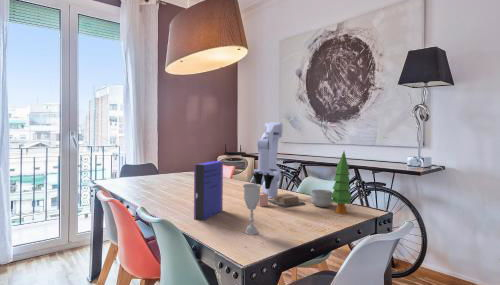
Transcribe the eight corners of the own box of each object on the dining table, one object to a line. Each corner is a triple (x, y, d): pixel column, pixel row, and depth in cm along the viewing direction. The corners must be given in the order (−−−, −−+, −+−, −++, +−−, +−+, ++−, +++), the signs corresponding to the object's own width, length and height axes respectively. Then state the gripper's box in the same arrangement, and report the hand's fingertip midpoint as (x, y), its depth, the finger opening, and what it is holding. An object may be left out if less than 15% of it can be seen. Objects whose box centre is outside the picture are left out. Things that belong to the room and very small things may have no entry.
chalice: (250, 227, 120) (251, 183, 119) (264, 231, 115) (265, 185, 115) (238, 232, 114) (238, 185, 113) (252, 236, 110) (253, 187, 109)
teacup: (308, 206, 155) (308, 191, 155) (313, 202, 165) (314, 187, 164) (335, 210, 148) (335, 194, 148) (339, 205, 158) (340, 190, 158)
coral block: (254, 204, 158) (254, 193, 158) (262, 203, 160) (262, 192, 160) (259, 206, 154) (259, 195, 153) (267, 205, 156) (268, 194, 156)
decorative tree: (353, 211, 146) (354, 150, 144) (348, 216, 138) (349, 151, 137) (333, 208, 151) (334, 149, 150) (327, 213, 143) (328, 150, 142)
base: (268, 201, 164) (268, 194, 164) (288, 199, 171) (288, 192, 171) (283, 207, 152) (283, 199, 152) (304, 204, 159) (305, 196, 159)
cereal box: (213, 209, 147) (214, 160, 146) (222, 210, 145) (222, 161, 144) (194, 218, 131) (194, 164, 130) (203, 220, 129) (203, 164, 128)
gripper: (249, 161, 161) (248, 186, 160) (266, 162, 149) (265, 190, 148) (260, 161, 164) (259, 186, 164) (277, 162, 152) (276, 189, 152)
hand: (263, 187), depth 156 cm, fingers open, 7 cm apart
